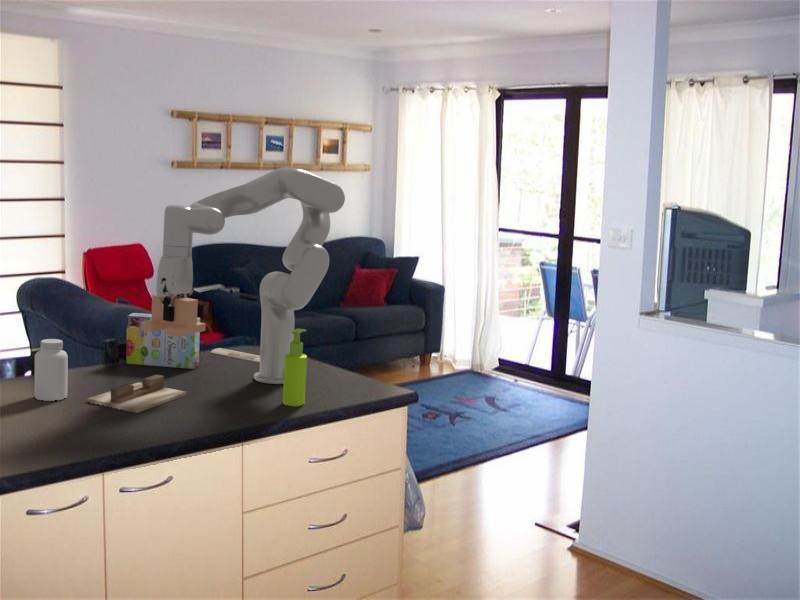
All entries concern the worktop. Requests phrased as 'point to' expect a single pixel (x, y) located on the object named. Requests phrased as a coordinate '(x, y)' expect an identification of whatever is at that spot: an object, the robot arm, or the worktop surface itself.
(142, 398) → the base
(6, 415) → the worktop surface
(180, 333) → the cross plate
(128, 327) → the snack box
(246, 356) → the newspaper
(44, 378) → the pill bottle
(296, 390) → the soap dispenser
